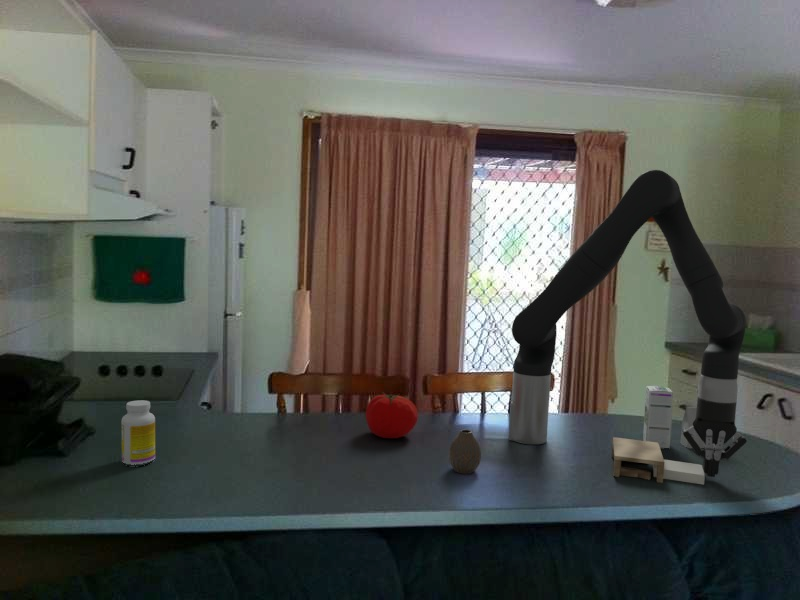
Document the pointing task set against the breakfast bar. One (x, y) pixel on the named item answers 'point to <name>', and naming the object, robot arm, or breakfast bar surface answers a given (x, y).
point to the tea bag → (687, 423)
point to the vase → (465, 453)
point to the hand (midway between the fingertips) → (710, 475)
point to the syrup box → (658, 415)
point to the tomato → (391, 416)
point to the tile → (682, 472)
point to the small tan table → (637, 457)
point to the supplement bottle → (138, 433)
